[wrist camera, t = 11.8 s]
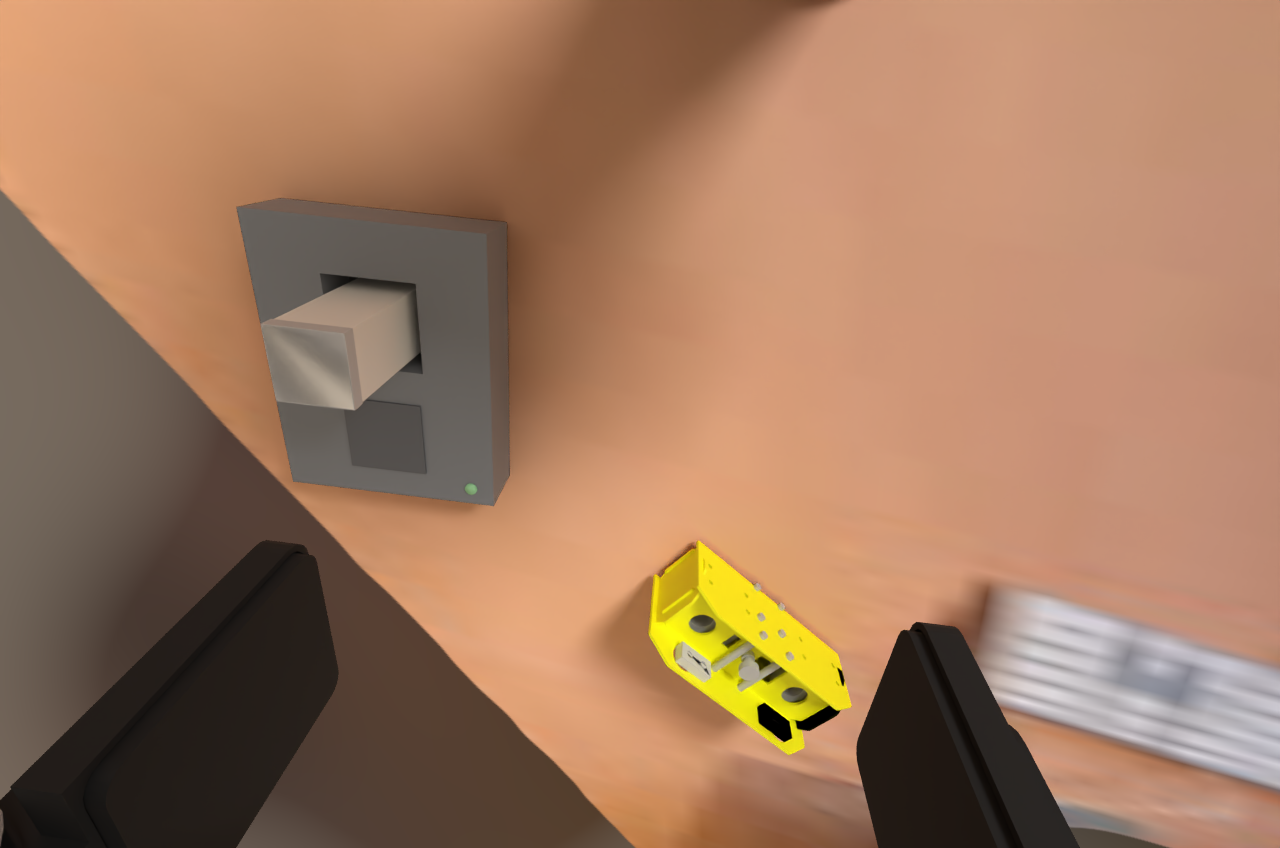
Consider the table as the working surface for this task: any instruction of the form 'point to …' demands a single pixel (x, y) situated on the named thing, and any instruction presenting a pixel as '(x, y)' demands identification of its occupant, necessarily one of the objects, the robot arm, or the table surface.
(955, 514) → the table surface
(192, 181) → the table surface
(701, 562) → the yellow toy chassis
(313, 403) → the plug
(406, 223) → the plate
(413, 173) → the table surface
